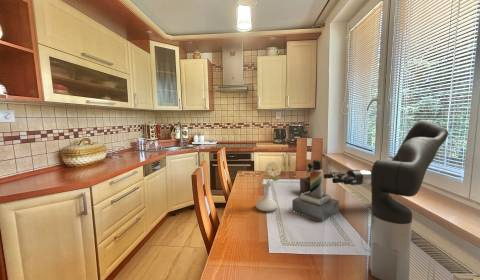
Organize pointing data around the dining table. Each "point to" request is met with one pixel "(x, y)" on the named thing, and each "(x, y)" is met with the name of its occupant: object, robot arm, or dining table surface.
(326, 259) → the dining table surface
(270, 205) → the flower in vase
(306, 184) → the bronze sculpture
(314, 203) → the gray square holder
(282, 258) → the dining table surface
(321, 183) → the lotion bottle
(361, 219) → the dining table surface
